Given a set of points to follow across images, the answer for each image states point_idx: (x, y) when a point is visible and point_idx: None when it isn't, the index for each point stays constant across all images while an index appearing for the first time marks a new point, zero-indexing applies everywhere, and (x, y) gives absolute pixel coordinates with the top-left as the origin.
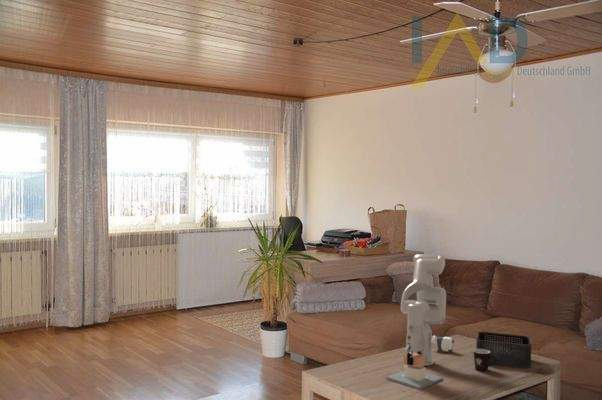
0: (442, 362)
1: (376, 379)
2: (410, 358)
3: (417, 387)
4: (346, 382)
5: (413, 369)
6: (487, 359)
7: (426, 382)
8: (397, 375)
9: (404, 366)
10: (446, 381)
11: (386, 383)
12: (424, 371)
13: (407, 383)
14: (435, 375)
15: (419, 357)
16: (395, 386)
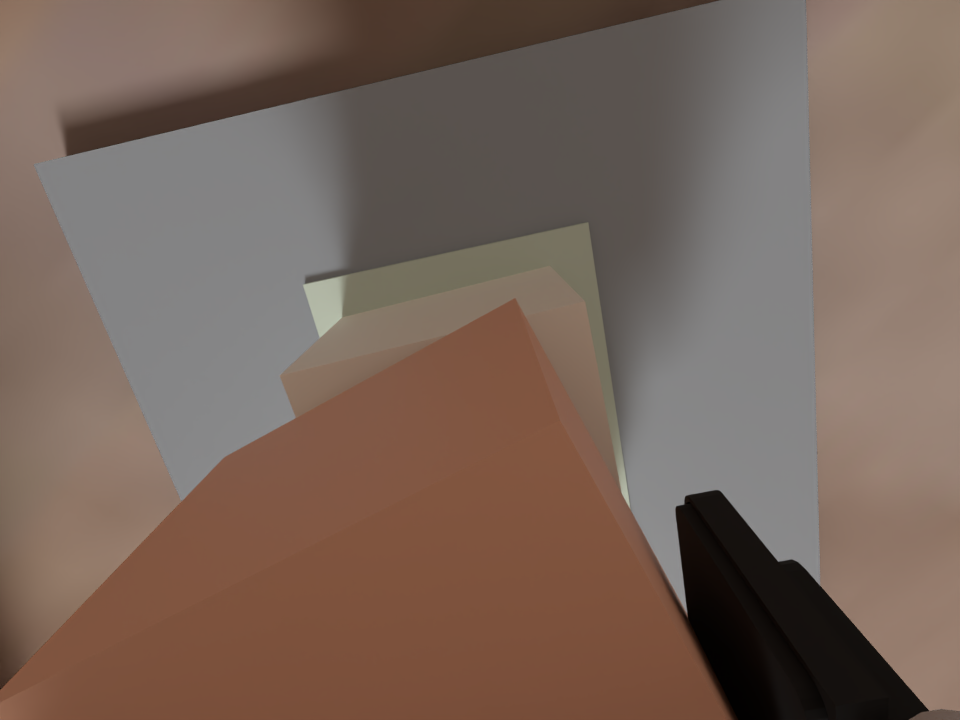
0: None
1: (908, 648)
2: (910, 705)
3: (794, 40)
4: None
5: (608, 444)
6: None
7: (498, 114)
8: None
9: None
10: (46, 60)
11: (940, 488)
12: (347, 339)
13: (810, 266)
14: (103, 313)
15: (593, 545)
16: (952, 335)
